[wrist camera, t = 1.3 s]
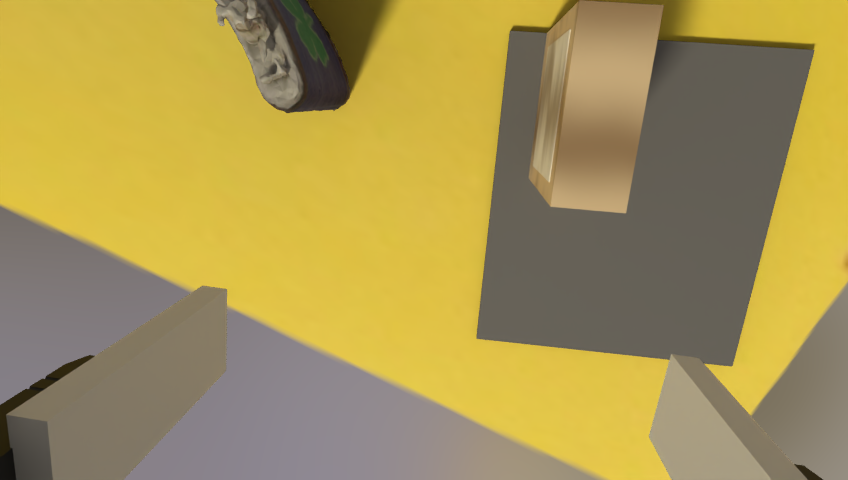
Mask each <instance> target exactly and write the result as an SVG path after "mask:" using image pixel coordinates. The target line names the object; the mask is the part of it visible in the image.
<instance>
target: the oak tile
mask: <svg viewBox="0 0 848 480" xmlns="http://www.w3.org/2000/svg"><path fill="white" fill-rule="evenodd" d="M663 7H664V5H653V4H636V3H619V2H602V1H585V0H579V1H578V2H577V3H576V4H575V5H574V6H573V7H572V8H571V9H570V10H569V11H568V12H567V13H566V14H565V15H564V16H563V17H562V18H561V19H560V20H559V21H558V22H557V23H556V24H555V25H554V26H553V27H552V28H551V29H550V30H549V32H548V33H547V36H546V44H545V52H544V60H543V68H542V76H541V84H540V91H539V99H538V107H537V115H536V123H535V131H534V139H533V146H532V154H531V162H530V170H529V179H530V181H531V182H532V183H533V184H534V186H535V187H536V188H537V190H538V191H539V192H540V194H541V195H542V196H543V198H544V199H545V200H546V201H547V203H548V204H549V205H550V207H559V208H571V209H582V210H593V211H605V212H616V213H626V211H627V205H628V200H629V194H630V189H631V183H632V178H633V172H634V167H635V161H636V156H637V150H638V145H639V139H640V134H641V128H642V123H643V117H644V111H645V106H646V100H647V95H648V89H649V84H650V78H651V73H652V67H653V62H654V56H655V51H656V45H657V40H658V34H659V29H660V23H661V18H662V12H663Z"/></svg>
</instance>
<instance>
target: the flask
mask: <svg viewBox="0 0 848 480" xmlns="http://www.w3.org/2000/svg"><path fill="white" fill-rule="evenodd" d="M215 1H216V2H217V4H218V5H217V7H216V13H217V16H218V23H219V25H220V26H224V25H225V24H224V19H225V18H226V19H227V20H228V22H229V23H230V25H231V27H232V28H233V30H234V32H235V33H236V35H237V37H238V40H239V41H240V43H241V44H242V46H243V48H244V50H245V52H246V55H247V57H248V59H249V61H250V63H251V66H252V69H253V73H254V75H255V78H256V83H257V86H258V88H259V90H260V92H261V94H262V96H263V98H264V99H265V100H266V101H267V102H268V103H269V104H271V105H272V106H273V107H274V108H276V109H278V110H282V111H284V112H286V113H290V112H303V111H313V110H316V111H322V110H334V111H335V109H338V108H339V107H341V106H342V105H344V104H345V103H346V102H347V100H348V99H349V95H350V87H349V85H348V78H347V74H346V72H345V70H344V68H343V65H342V60H341V58H340V57H339V55H338V51H337V49H336V47H335V45H334V43H333V42H332V40H331V39H330V35H329V34H328V32H327V31H326V30H325V29H324V28H323V26H322V24H321V22H320V21H319V19H318V18H317V16H316V15H315V13H314V12H313V10H312V9H311V8H310V6H309V4H308V2H307V1H306V0H215Z"/></svg>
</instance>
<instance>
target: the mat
mask: <svg viewBox="0 0 848 480" xmlns="http://www.w3.org/2000/svg"><path fill="white" fill-rule="evenodd" d="M546 36H547V33H538V32H522V31H510V35H509V44H508V54H507V63H506V72H505V81H504V90H503V99H502V109H501V118H500V127H499V136H498V145H497V154H496V164H495V173H494V182H493V191H492V200H491V209H490V219H489V228H488V237H487V246H486V255H485V264H484V274H483V283H482V292H481V301H480V310H479V319H478V329H477V339H485V340H494V341H503V342H512V343H521V344H531V345H540V346H549V347H558V348H567V349H577V350H586V351H595V352H604V353H613V354H623V355H632V356H641V357H650V358H659V359H668V360H670V357H671V354H675V355H682V356H689V357H695V358H699V359H700V360H701V361H702V362H703V363H705V364H714V365H724V366H733V362H734V358H735V354H736V350H737V347H738V343H739V339H740V335H741V331H742V327H743V323H744V320H745V316H746V312H747V308H748V304H749V300H750V297H751V293H752V289H753V285H754V281H755V277H756V273H757V270H758V266H759V262H760V258H761V254H762V250H763V246H764V243H765V239H766V235H767V231H768V227H769V223H770V219H771V216H772V212H773V208H774V204H775V200H776V196H777V192H778V189H779V185H780V181H781V177H782V173H783V169H784V166H785V162H786V158H787V154H788V150H789V146H790V142H791V139H792V135H793V131H794V127H795V123H796V119H797V115H798V112H799V108H800V104H801V100H802V96H803V92H804V88H805V85H806V81H807V77H808V73H809V69H810V65H811V61H812V58H813V54H814V50H805V49H790V48H774V47H758V46H742V45H727V44H711V43H695V42H679V41H664V40H657V45H656V51H655V56H654V62H653V67H652V73H651V78H650V84H649V89H648V95H647V100H646V106H645V111H644V117H643V123H642V128H641V134H640V139H639V145H638V150H637V156H636V161H635V167H634V172H633V178H632V183H631V189H630V194H629V200H628V205H627V211H626V213H616V212H605V211H593V210H582V209H571V208H559V207H550V205H549V204H548V203H547V201H546V200H545V199H544V198H543V196H542V195H541V194H540V192H539V191H538V190H537V188H536V187H535V186H534V184H533V183H532V182H531V181H530V179H529V170H530V162H531V154H532V146H533V139H534V131H535V123H536V115H537V107H538V99H539V91H540V84H541V76H542V68H543V60H544V52H545V44H546Z"/></svg>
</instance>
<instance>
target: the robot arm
mask: <svg viewBox="0 0 848 480" xmlns="http://www.w3.org/2000/svg"><path fill="white" fill-rule="evenodd" d="M226 332H227V289H222V288H215V287H208V286H201V287H200V288H198V289H197V290H195V291H194V292H192V293H191V294H189V295H188V296H186V297H185V298H183V299H182V300H180V301H178V302H177V303H175V304H174V305H172V306H171V307H169V308H168V309H166V310H165V311H163V312H162V313H160V314H159V315H157V316H156V317H154V318H153V319H151V320H150V321H148V322H146V323H145V324H143V325H142V326H140V327H139V328H137V329H136V330H134V331H133V332H131V333H130V334H128V335H127V336H125V337H124V338H122V339H121V340H119V341H118V342H116V343H115V344H113V345H111V346H110V347H108V348H107V349H105V350H104V351H102V352H101V353H99V354H98V355H97V356H91V355H89V356H86V357H83V358H81V359H78V360H75V361H73V362H70V363H67V364H65V365H63V366H62V367H60V368H58V369H57V370H55V371H54V372H52V373H51V374H49V375H47V376H46V378H45V379H41V380H39V381H38V382H36V383H34V384H33V385H31V386H30V388H29V389H25V390H23V391H22V392H20V393H19V394H17V395H15V396H14V397H12V398H11V399H9V400H7V401H6V402H4V403H3V404H1V405H0V480H124V478H125V477H126V476H127V475H128V474H129V473H130V472H131V471H132V470H133V469H134V468H135V467H136V466H137V465H138V464H139V463H140V461H141V460H142V459H143V458H144V457H145V456H146V455H147V454H148V453H149V452H150V451H151V450H152V449H153V448H154V446H155V445H156V444H157V443H158V442H159V441H160V440H161V439H162V438H163V437H164V436H165V435H166V434H167V433H168V432H169V431H170V429H171V428H172V427H173V426H174V425H175V424H176V423H177V422H178V421H179V420H180V419H181V418H182V417H183V416H184V415H185V414H186V413H187V411H189V409H190V408H191V407H192V406H193V405H194V404H195V403H196V402H197V401H198V400H199V399H200V398H201V397H202V396H203V395H204V394H205V392H206V391H207V390H208V389H209V388H210V387H211V386H212V385H213V384H214V383H215V382H216V381H217V380H218V379H219V378H220V377H221V375H222V374H223V373H224V372H225V371H226V338H227V337H226V336H227V333H226ZM649 438H650V440H651V442H652V444H653V445H654V447H655V449H656V451H657V453H658V455H659V457H660V459H661V461H662V462H663V464H664V466H665V468H666V470H667V472H668V474H669V476H670V478H671V479H672V480H823V479H822V478H820V477H819V476H817V475H816V474H815V473H813V472H812V471H810V470H809V469H807V468H806V467H805V466H802V465H796V464H793V463H792V462H791V460H790V459H789V458H788V457H787V456H786V455H785V454H784V453H783V452H782V450H781V449H780V448H779V447H778V446H777V445H776V444H775V443H774V442H773V440H772V439H771V438H770V437H769V436H768V435H767V434H766V433H765V431H764V430H763V429H762V428H761V427H760V426H759V425H758V424H757V422H756V421H754V419H753V418H752V417H751V416H750V415H749V414H748V412H747V411H746V410H745V409H744V408H743V407H742V406H741V405H740V404H739V402H738V401H737V400H736V399H735V398H734V397H733V396H732V395H731V393H730V392H729V391H728V390H727V389H726V388H725V387H724V386H723V385H722V383H721V382H720V381H719V380H718V379H717V378H716V377H715V376H714V374H713V373H712V372H711V371H710V370H709V369H708V368H707V367H706V366H705V364H704V363H703V362H702V361H701V360H700V359H699V358H695V357H689V356H682V355H675V354H671V357H670V360H669V364H668V368H667V371H666V375H665V379H664V383H663V386H662V390H661V394H660V397H659V401H658V405H657V408H656V412H655V416H654V420H653V423H652V427H651V431H650V434H649Z"/></svg>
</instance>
